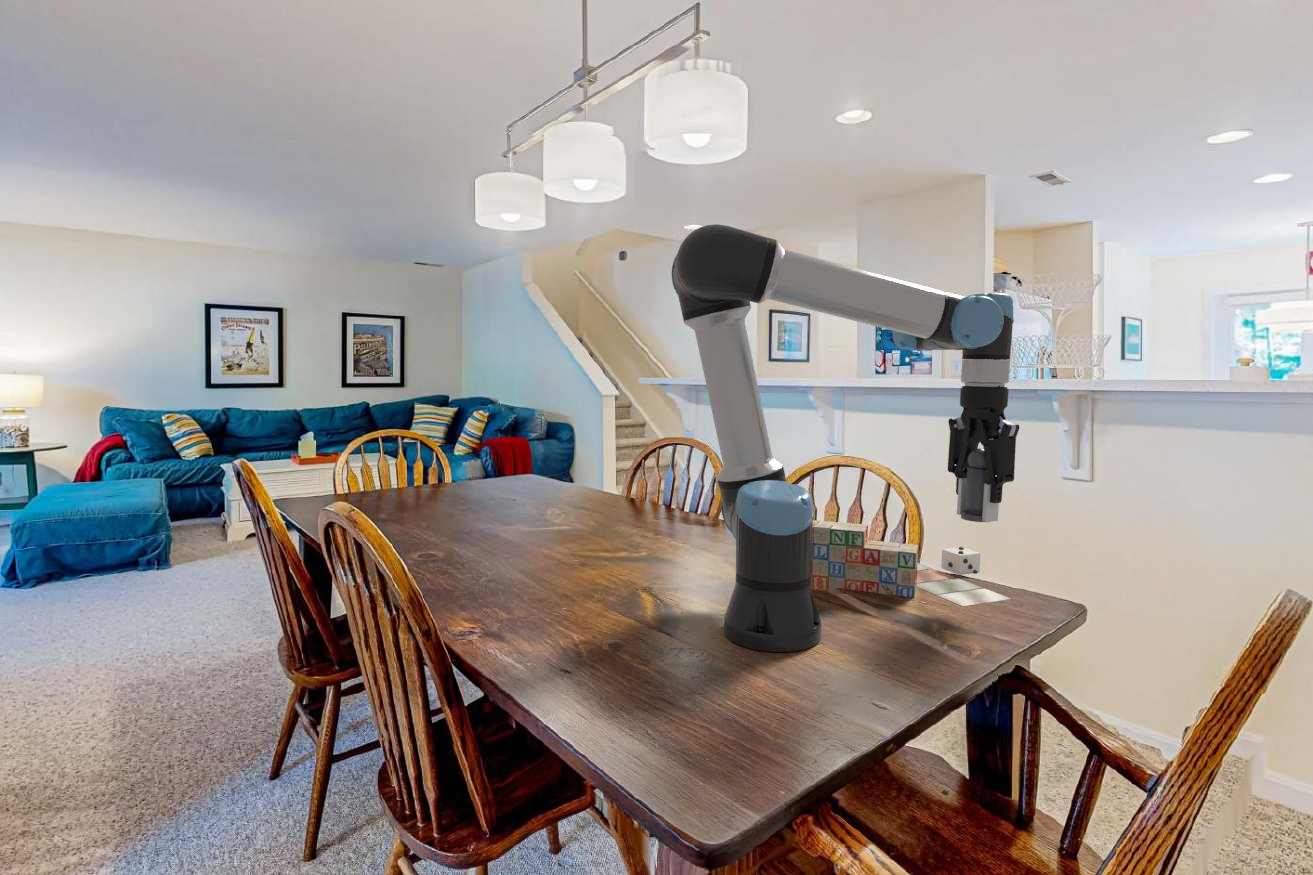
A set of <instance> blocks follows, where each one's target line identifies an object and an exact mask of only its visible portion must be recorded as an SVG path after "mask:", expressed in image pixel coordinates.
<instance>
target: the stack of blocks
mask: <svg viewBox="0 0 1313 875" xmlns="http://www.w3.org/2000/svg"><path fill="white" fill-rule="evenodd" d="M868 534H869V525H868V524H863V523H852V522H841V521H840V522H839V521H836V522H835V521H827V520H826V521H825V520H813V524H812V562H811V590H812V591H817V592H818V591H820V592H825V591H826V593H832V594H840V593H841V595H848V593H847V592H845V591H843V590H854V591H860V592H867V593H869V592H870V593H877V594H881V595H887V596H888V595H889V596H897V597H898V596H899V597H907V598H911V599H912V598H913V599H914V598H915V596H916V593H917V588H918V587H917V584H918V583H917V563H918V561H919V560H918V558H919V544H912V543H911V544H910V543H909V544H908V543H900V542H892V541H882V540H871V539H870V540H868V539H869V536H868ZM842 589H843V590H842Z"/></svg>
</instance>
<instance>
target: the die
mask: <svg viewBox="0 0 1313 875" xmlns="http://www.w3.org/2000/svg"><path fill="white" fill-rule="evenodd" d="M940 565H941V566H940V567H941V569H943V570H945V571H948V572H951V573H952V574H957V575H959V576H963V575H971V574H975V575H976V574H978V573H980V569H981V553H980V552H977V551H976V550H972V549H969V548H965V547H963V546H958V547H950V548H943V549H941V564H940Z"/></svg>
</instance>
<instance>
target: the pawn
mask: <svg viewBox="0 0 1313 875" xmlns="http://www.w3.org/2000/svg"><path fill="white" fill-rule="evenodd" d="M968 464H969V466H970V467H967V481H966V499H965V511H961V515H960V519H962V520H964V521H969V522H975V523H985V522H984V521H982V515H983V498H984V484H986V483H985V482H986V481H988V474H987V467H986V460H985V454H984V448H980V447H979V448H977V449H975V450H973V451H972V452H971V453H970V454H969V456H968ZM991 522H993V521H991Z"/></svg>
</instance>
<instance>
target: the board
mask: <svg viewBox="0 0 1313 875" xmlns="http://www.w3.org/2000/svg"><path fill="white" fill-rule="evenodd" d="M926 569H928V570H926ZM932 570H933V571H932ZM917 588H918V589H921V590H922V591H926V592H927V593H929V594H932V595H936V596H937V597H939V598H943V600H947V601H949V602H951V603H954V604H956V605H959V606H961V607H968V606H973V605H974V606H976V605H982V604H987V603H988V604H989V603H994V602H1000V601H1008V600H1012V598H1011V597H1008V596H1005V595H1003V594H1000V593H998V592H995V591H993V590H990V589H987V588H984V587H982V586H979V585H976V584H974V583H972V582H969V581H966V580H963V579H961V578H957V577H956V576H953V575H951V574H948V573H945V572H944V571H941V570H937V569H936V568H932V567H930V566H927V565H924V564H921V563H919V562H917Z"/></svg>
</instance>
